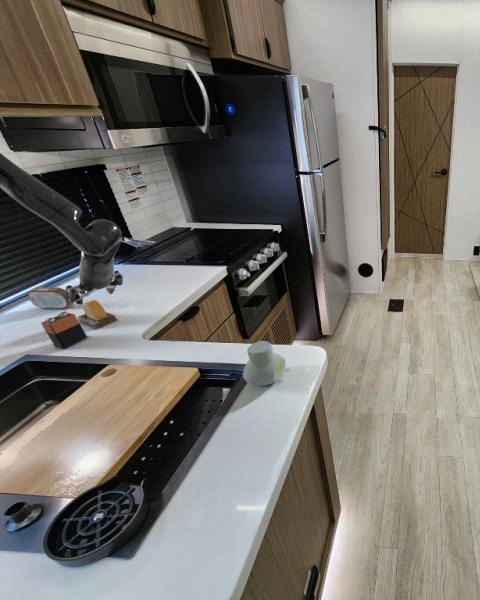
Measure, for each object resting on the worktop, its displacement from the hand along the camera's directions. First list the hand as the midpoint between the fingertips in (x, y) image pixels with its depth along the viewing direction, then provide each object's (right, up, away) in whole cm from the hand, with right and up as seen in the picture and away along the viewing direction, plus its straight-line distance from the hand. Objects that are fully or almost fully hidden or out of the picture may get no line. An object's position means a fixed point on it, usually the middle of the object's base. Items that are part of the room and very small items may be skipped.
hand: (94, 297), depth 109 cm
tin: (-31, -4, +18) cm, 36 cm away
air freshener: (+65, -22, -20) cm, 72 cm away
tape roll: (-6, -8, +8) cm, 13 cm away
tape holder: (-6, -8, +8) cm, 13 cm away
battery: (-4, -15, -4) cm, 16 cm away
